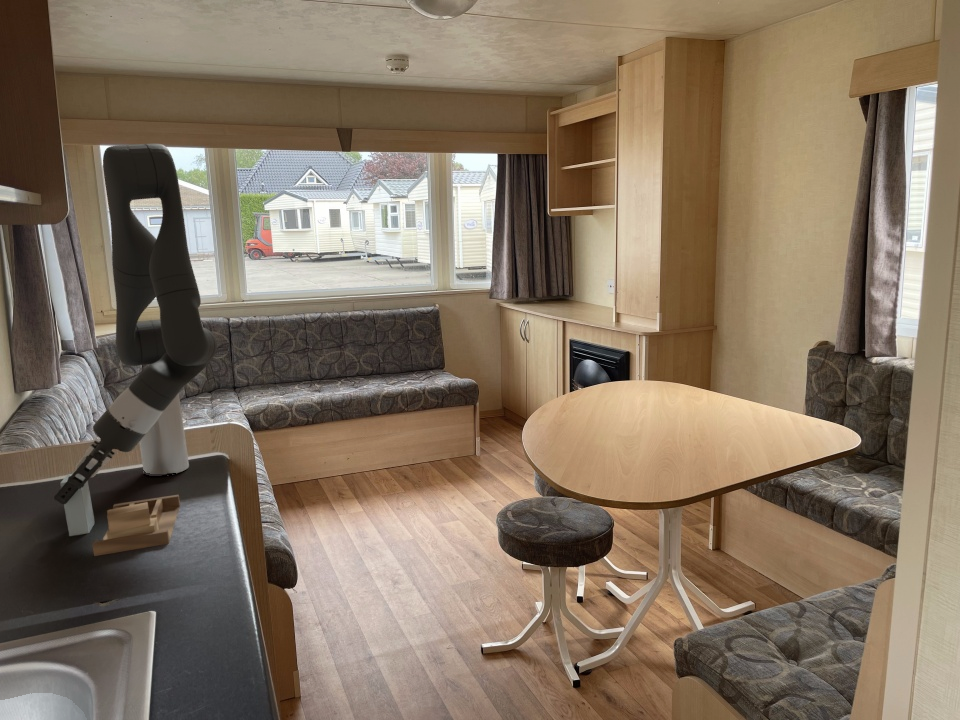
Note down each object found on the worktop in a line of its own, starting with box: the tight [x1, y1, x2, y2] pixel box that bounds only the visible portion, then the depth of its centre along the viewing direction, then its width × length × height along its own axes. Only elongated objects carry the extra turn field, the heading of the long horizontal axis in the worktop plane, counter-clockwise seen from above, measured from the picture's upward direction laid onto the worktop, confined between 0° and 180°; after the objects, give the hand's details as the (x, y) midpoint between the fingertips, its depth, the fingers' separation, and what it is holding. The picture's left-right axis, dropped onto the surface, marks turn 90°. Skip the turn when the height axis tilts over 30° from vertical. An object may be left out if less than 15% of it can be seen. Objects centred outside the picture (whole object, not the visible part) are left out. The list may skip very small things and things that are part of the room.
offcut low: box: [106, 517, 159, 539], centre depth 117 cm, size 4×7×3 cm, turn 107°
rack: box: [91, 494, 181, 557], centre depth 123 cm, size 18×11×3 cm, turn 17°
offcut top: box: [106, 502, 151, 533], centre depth 116 cm, size 3×6×3 cm, turn 117°
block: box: [60, 473, 95, 537], centre depth 123 cm, size 4×3×10 cm, turn 17°
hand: (64, 494), depth 122 cm, fingers open, 5 cm apart
